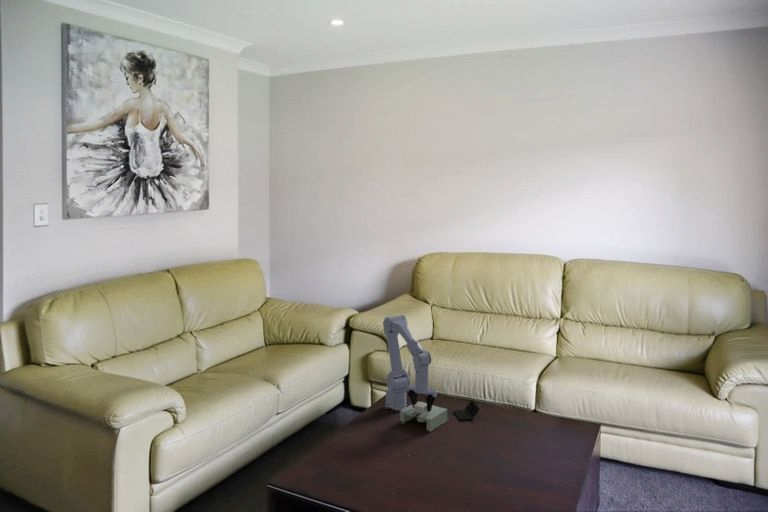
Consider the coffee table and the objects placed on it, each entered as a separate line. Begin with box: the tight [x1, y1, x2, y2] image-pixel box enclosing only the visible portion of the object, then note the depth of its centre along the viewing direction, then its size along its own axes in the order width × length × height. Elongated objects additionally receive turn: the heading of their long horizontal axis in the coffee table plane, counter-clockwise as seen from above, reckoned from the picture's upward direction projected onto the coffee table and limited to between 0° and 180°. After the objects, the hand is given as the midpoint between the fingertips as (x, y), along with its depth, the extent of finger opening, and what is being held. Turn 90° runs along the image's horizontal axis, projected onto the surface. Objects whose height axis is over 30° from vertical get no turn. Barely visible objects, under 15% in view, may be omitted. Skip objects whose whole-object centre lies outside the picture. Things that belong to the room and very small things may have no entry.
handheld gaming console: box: [452, 400, 480, 422], centre depth 263 cm, size 12×7×10 cm
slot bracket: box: [399, 400, 448, 432], centre depth 256 cm, size 16×14×6 cm
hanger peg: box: [414, 401, 427, 423], centre depth 255 cm, size 5×5×7 cm
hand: (421, 409), depth 255 cm, fingers open, 7 cm apart
